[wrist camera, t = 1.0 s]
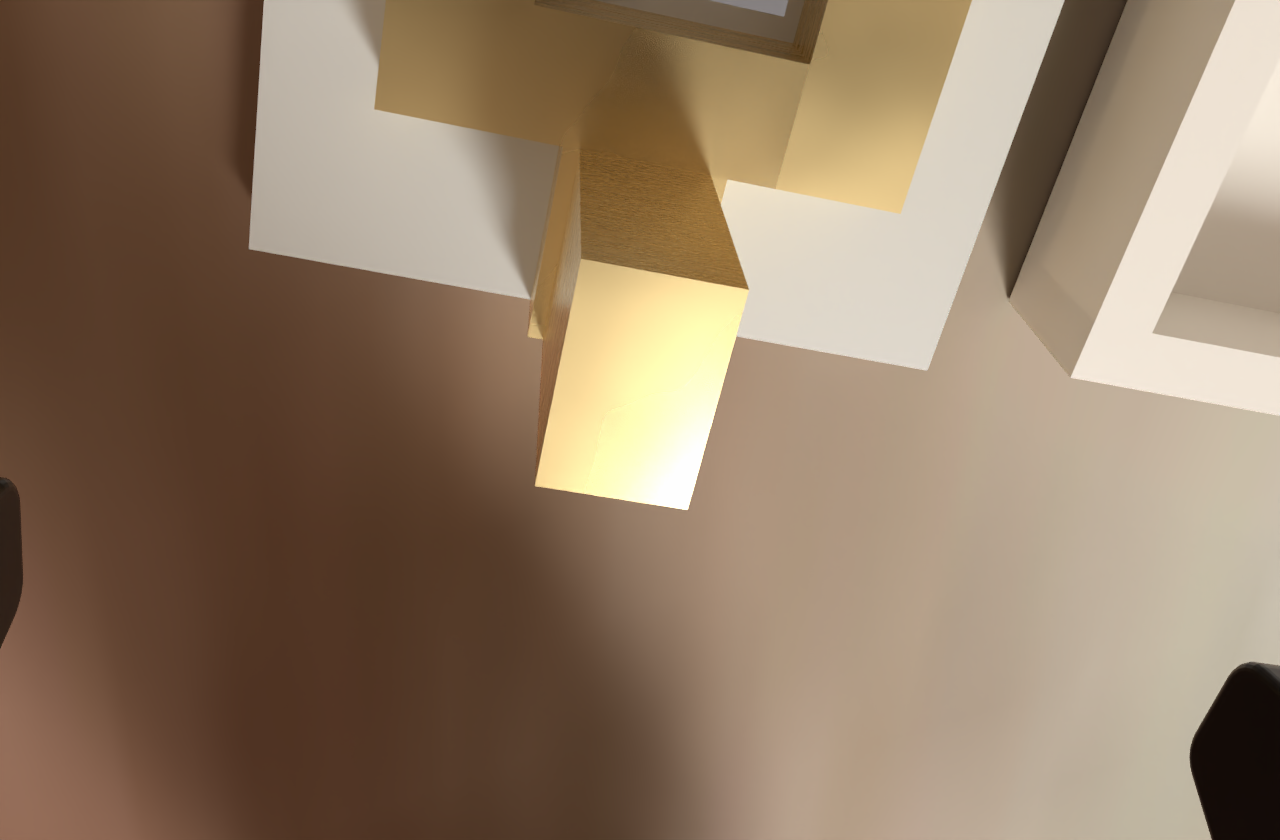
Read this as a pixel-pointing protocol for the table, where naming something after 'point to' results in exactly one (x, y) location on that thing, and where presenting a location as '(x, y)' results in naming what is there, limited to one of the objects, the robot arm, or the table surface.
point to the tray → (1170, 212)
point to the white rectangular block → (523, 169)
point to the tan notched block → (664, 186)
